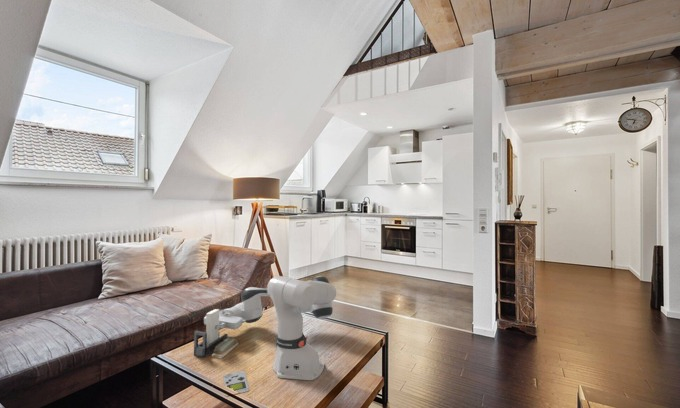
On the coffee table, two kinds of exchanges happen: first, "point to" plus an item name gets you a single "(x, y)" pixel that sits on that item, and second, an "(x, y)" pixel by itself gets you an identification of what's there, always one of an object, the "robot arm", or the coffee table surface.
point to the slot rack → (205, 344)
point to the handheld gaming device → (236, 381)
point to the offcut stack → (224, 347)
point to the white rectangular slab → (212, 325)
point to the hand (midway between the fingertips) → (212, 327)
